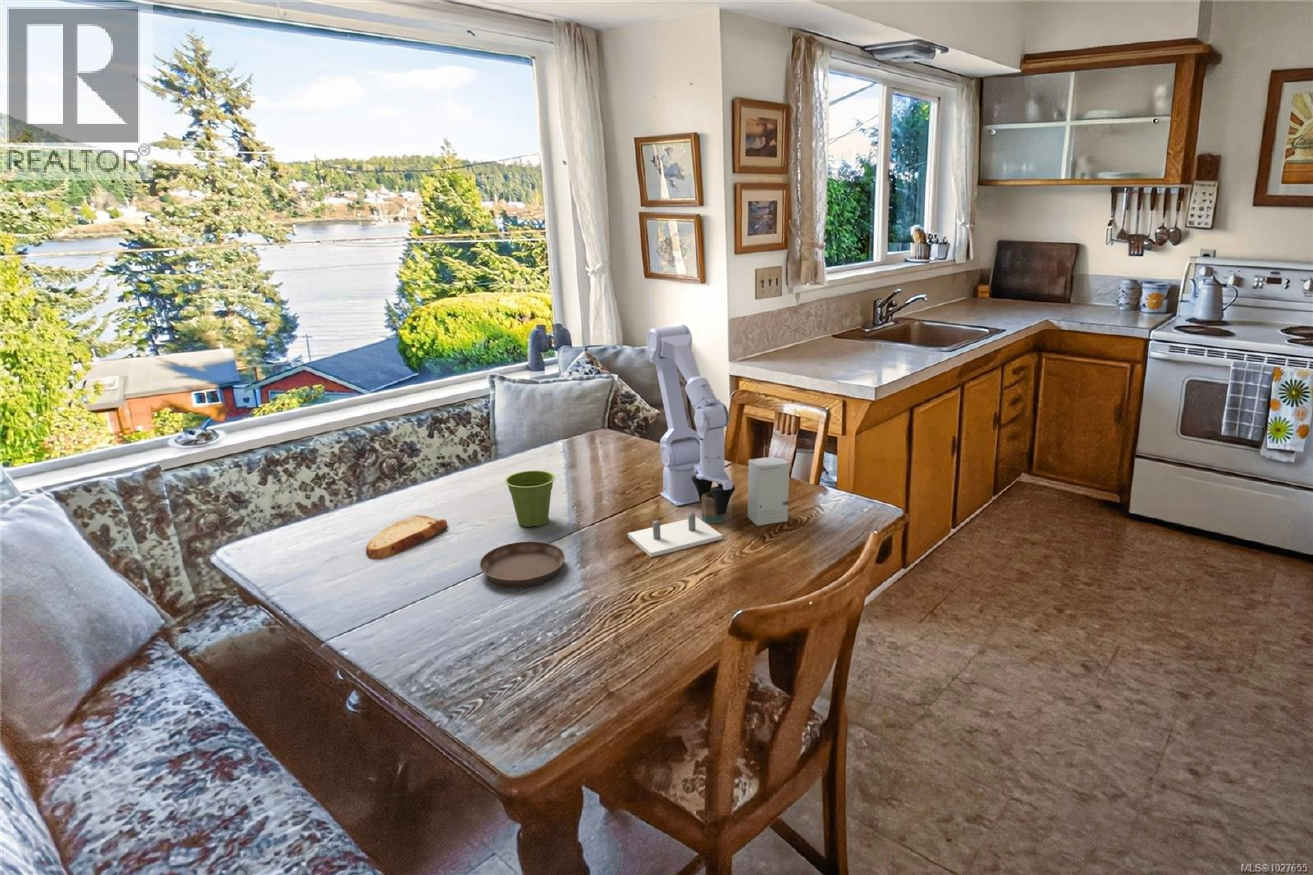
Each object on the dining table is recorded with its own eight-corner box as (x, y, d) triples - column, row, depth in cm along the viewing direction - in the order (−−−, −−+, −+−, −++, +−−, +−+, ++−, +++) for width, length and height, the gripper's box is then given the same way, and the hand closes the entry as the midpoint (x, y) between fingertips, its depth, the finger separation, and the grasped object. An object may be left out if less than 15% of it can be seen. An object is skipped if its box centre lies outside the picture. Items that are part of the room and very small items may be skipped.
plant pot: (549, 533, 182) (545, 488, 179) (501, 530, 185) (497, 486, 181) (564, 513, 193) (561, 470, 190) (519, 511, 196) (515, 469, 192)
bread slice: (364, 562, 171) (362, 547, 170) (371, 530, 188) (369, 516, 187) (448, 551, 176) (446, 535, 174) (447, 520, 192) (446, 506, 191)
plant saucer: (583, 568, 165) (582, 555, 164) (516, 601, 152) (515, 587, 151) (529, 546, 176) (528, 534, 175) (463, 575, 164) (462, 562, 163)
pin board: (627, 537, 178) (626, 516, 177) (696, 520, 186) (696, 501, 184) (650, 557, 168) (650, 535, 167) (722, 539, 176) (722, 518, 174)
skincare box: (757, 527, 181) (757, 466, 177) (746, 517, 187) (746, 458, 182) (789, 521, 184) (790, 462, 179) (778, 512, 189) (779, 454, 185)
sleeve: (698, 517, 188) (698, 494, 186) (716, 513, 190) (716, 490, 188) (709, 524, 183) (708, 501, 182) (727, 520, 186) (727, 496, 184)
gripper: (682, 449, 186) (683, 502, 190) (713, 466, 174) (714, 522, 178) (707, 444, 189) (708, 496, 193) (739, 460, 177) (740, 516, 181)
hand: (713, 508), depth 186 cm, fingers open, 7 cm apart
